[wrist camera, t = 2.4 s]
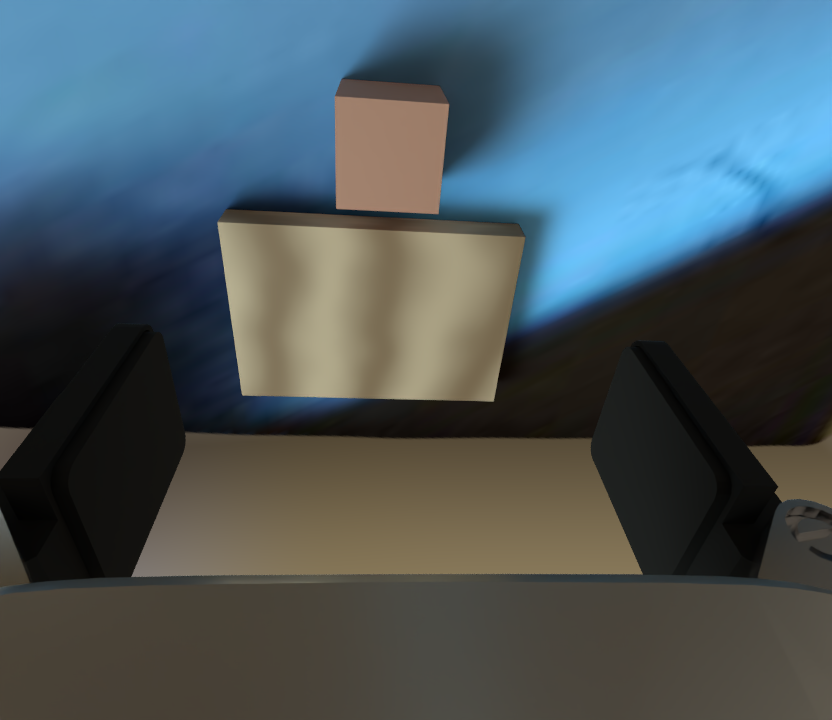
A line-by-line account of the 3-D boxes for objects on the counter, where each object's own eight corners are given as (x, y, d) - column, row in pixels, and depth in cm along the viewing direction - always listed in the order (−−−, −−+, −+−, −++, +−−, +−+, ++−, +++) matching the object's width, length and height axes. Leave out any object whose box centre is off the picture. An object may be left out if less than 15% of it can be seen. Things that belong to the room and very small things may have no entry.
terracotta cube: (439, 85, 28) (449, 104, 24) (430, 182, 31) (438, 214, 27) (341, 78, 28) (334, 96, 24) (342, 177, 31) (336, 208, 27)
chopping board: (248, 377, 38) (242, 395, 36) (226, 209, 31) (217, 222, 30) (488, 383, 39) (493, 401, 38) (518, 223, 33) (525, 237, 31)
